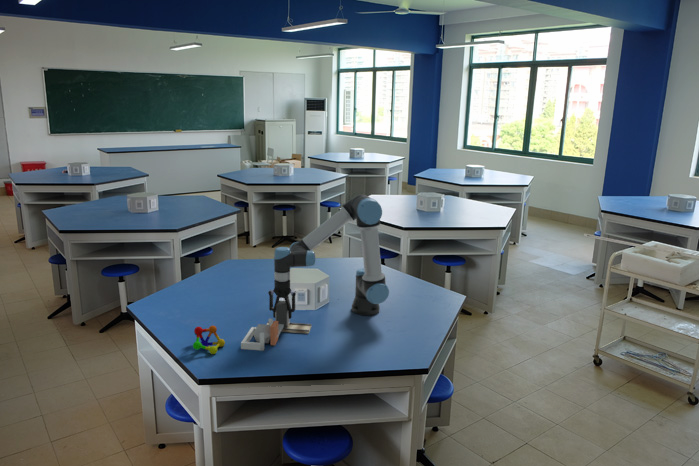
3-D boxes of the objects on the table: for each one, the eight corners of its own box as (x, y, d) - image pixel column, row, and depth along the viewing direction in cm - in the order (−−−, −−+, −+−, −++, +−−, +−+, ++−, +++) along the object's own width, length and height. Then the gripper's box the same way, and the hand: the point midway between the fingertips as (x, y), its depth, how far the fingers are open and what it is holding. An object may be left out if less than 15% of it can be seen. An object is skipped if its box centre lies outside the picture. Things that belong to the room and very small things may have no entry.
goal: (273, 334, 248) (273, 318, 246) (263, 350, 231) (263, 334, 229) (252, 332, 249) (251, 317, 247) (240, 349, 232) (240, 332, 230)
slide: (311, 326, 257) (311, 323, 256) (308, 333, 249) (308, 330, 249) (268, 323, 259) (268, 320, 259) (264, 330, 251) (263, 327, 251)
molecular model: (222, 348, 239) (193, 334, 238) (231, 331, 237) (201, 317, 236) (213, 364, 225) (182, 349, 223) (222, 346, 222) (191, 331, 221)
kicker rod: (288, 325, 256) (288, 301, 253) (278, 345, 235) (277, 319, 232) (278, 325, 257) (278, 300, 254) (267, 344, 236) (266, 318, 232)
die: (262, 349, 233) (275, 330, 234) (246, 337, 234) (259, 319, 235) (266, 347, 242) (279, 329, 243) (251, 336, 243) (263, 318, 244)
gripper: (302, 277, 251) (302, 322, 256) (265, 275, 253) (266, 319, 258) (299, 282, 244) (299, 328, 249) (261, 280, 245) (262, 325, 251)
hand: (282, 323), depth 254 cm, fingers closed on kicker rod, 5 cm apart
